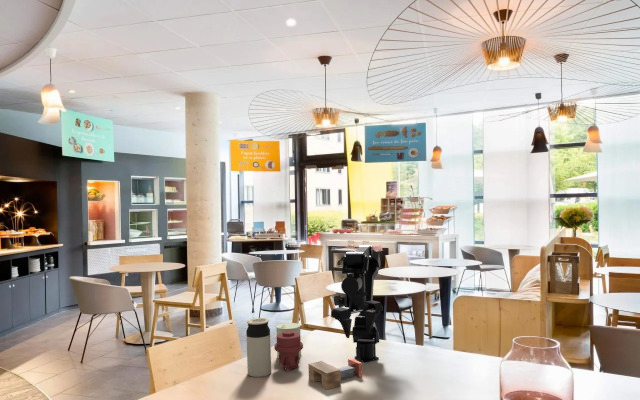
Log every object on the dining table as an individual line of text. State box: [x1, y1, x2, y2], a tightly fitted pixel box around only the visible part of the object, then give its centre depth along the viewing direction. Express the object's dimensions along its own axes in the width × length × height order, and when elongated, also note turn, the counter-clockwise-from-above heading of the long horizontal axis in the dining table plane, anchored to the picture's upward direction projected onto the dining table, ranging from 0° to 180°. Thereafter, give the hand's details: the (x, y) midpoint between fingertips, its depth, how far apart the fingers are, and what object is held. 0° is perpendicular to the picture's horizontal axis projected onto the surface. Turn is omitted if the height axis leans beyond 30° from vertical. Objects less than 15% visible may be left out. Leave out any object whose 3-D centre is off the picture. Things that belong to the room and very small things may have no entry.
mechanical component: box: [273, 331, 304, 372], centre depth 173 cm, size 12×10×10 cm
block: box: [307, 360, 342, 390], centre depth 158 cm, size 5×11×5 cm, turn 32°
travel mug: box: [245, 317, 272, 378], centre depth 168 cm, size 8×8×18 cm
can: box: [275, 322, 302, 360], centre depth 185 cm, size 9×9×12 cm
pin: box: [336, 358, 363, 381], centre depth 162 cm, size 8×6×5 cm
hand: (358, 335), depth 167 cm, fingers open, 9 cm apart
